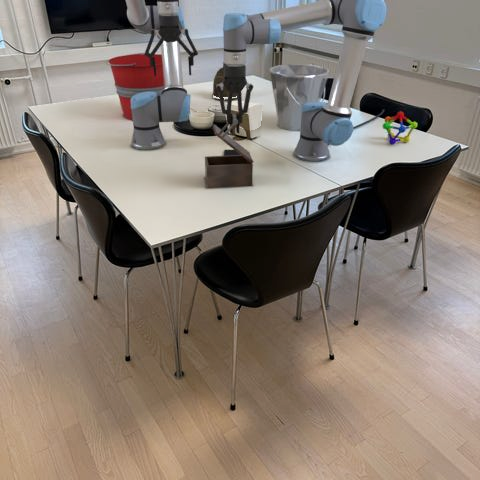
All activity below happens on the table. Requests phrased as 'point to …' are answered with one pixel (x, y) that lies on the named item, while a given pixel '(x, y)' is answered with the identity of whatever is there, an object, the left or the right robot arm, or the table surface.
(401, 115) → the educational toy
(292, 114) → the bucket
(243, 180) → the chest
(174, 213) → the table surface
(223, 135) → the lid
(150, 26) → the left robot arm
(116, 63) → the bucket
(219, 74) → the bell
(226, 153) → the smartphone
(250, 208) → the table surface
